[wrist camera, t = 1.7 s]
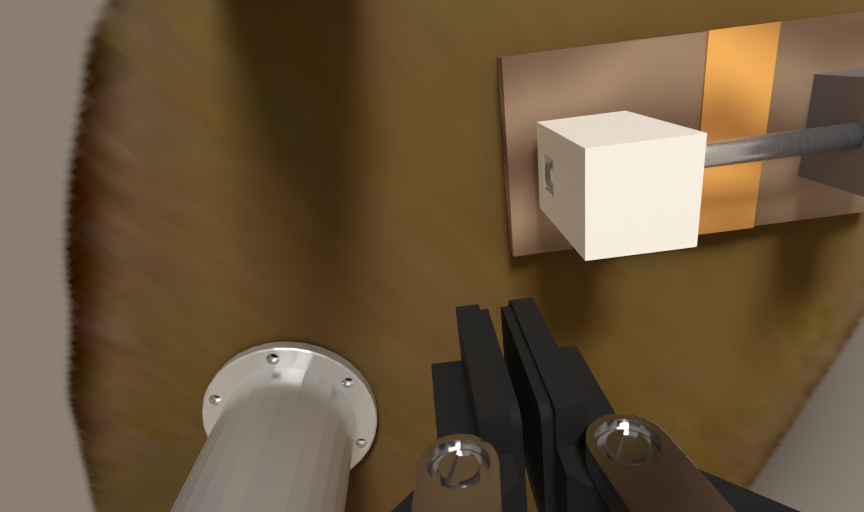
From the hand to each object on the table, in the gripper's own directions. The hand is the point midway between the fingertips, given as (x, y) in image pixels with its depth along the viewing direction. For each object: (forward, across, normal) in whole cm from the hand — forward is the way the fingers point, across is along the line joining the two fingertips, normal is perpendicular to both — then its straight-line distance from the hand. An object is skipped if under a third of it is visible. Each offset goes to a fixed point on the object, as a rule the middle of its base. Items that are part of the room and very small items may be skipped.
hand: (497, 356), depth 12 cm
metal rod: (+17, -14, 0) cm, 22 cm away
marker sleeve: (+18, -8, 0) cm, 20 cm away
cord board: (+21, -16, 0) cm, 26 cm away
